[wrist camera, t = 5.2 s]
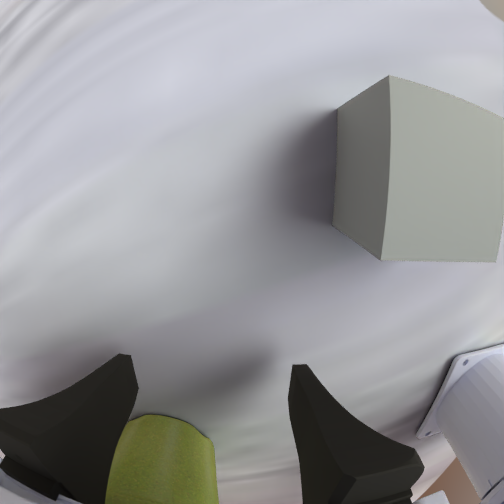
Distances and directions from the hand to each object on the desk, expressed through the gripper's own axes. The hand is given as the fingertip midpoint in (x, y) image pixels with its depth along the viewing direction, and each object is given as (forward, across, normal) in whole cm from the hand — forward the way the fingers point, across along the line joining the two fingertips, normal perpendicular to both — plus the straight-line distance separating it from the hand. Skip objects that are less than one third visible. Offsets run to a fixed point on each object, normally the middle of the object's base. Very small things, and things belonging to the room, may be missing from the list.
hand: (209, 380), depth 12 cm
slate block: (+2, -8, -9) cm, 12 cm away
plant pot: (+2, +3, +8) cm, 9 cm away
